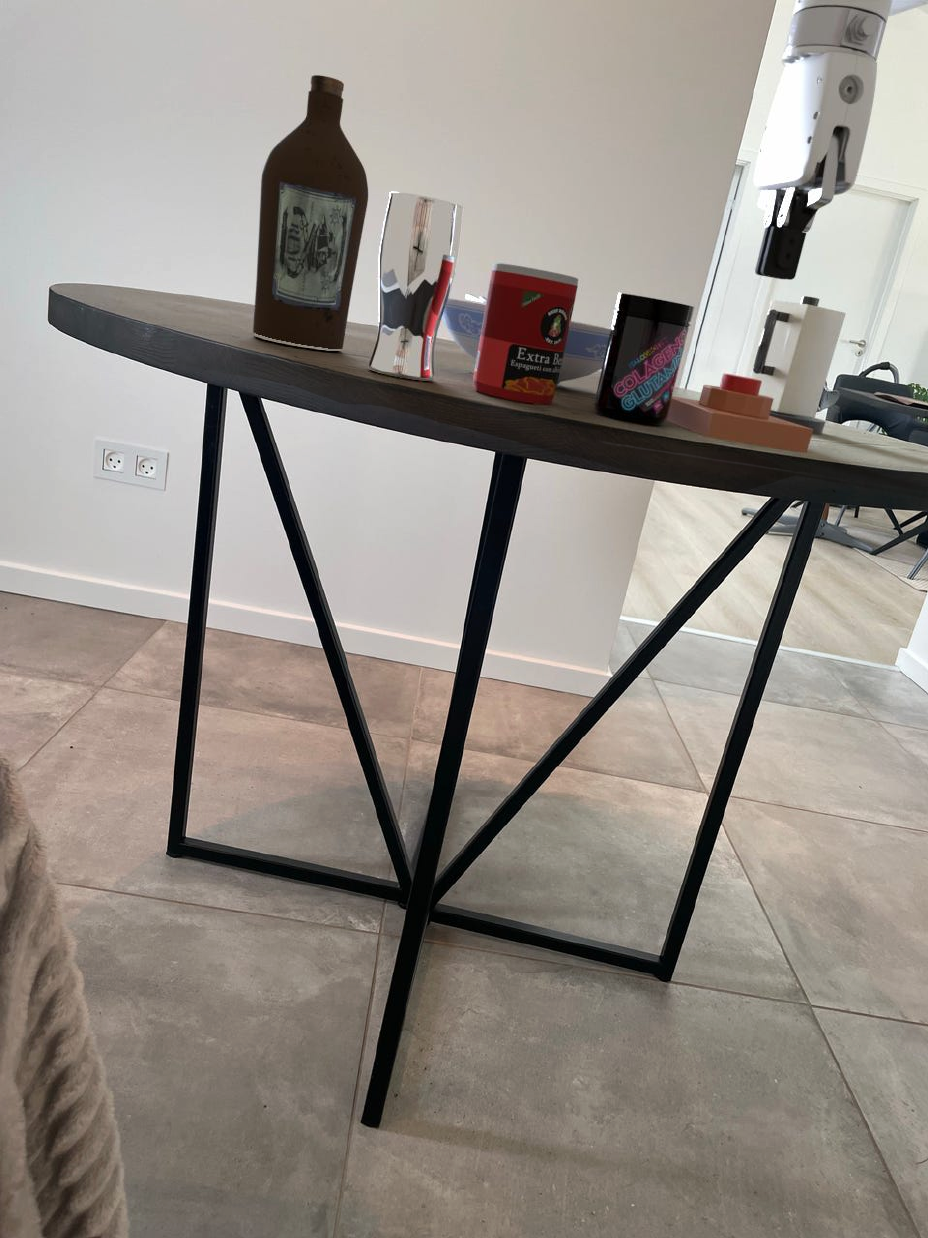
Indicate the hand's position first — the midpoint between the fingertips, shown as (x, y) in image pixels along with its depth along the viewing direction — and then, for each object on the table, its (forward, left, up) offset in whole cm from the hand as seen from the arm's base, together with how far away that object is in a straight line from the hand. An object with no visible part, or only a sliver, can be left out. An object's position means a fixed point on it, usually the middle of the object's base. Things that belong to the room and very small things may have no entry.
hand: (774, 276), depth 84 cm
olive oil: (+40, -21, -15) cm, 48 cm away
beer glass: (+31, -5, -15) cm, 35 cm away
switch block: (0, 0, -14) cm, 14 cm away
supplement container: (+11, +2, -15) cm, 19 cm away
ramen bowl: (+14, -24, -15) cm, 32 cm away
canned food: (+21, -2, -15) cm, 26 cm away
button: (0, 0, -11) cm, 11 cm away
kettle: (-16, -21, -13) cm, 29 cm away
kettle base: (-17, -21, -14) cm, 30 cm away
